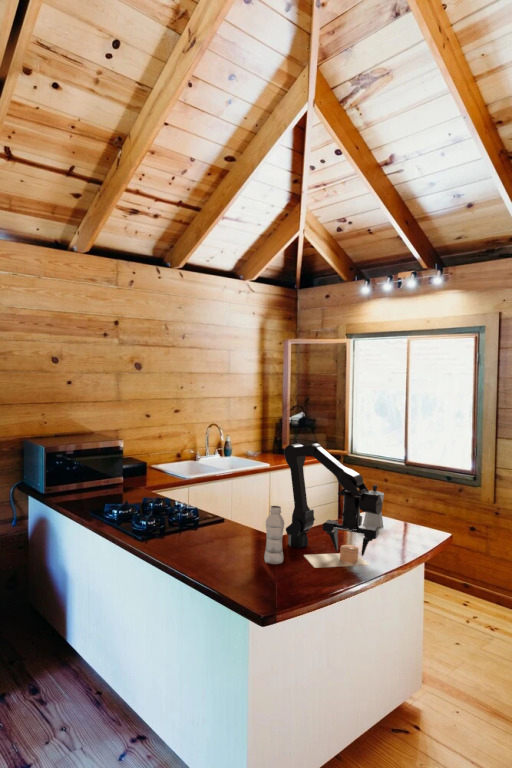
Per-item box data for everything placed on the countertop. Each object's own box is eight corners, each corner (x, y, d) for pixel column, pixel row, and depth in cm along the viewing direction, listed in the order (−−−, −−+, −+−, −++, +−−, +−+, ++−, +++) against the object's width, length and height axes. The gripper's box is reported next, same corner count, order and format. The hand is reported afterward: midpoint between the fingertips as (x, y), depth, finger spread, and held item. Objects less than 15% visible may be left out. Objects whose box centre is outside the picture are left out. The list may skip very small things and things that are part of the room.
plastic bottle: (277, 570, 168) (279, 510, 167) (260, 565, 171) (262, 507, 171) (286, 564, 173) (288, 506, 173) (269, 559, 177) (272, 503, 176)
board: (314, 572, 167) (315, 558, 167) (303, 559, 179) (303, 545, 179) (369, 569, 172) (370, 555, 172) (355, 556, 183) (355, 543, 183)
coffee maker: (369, 520, 231) (371, 481, 231) (387, 524, 226) (389, 484, 226) (355, 527, 219) (357, 486, 219) (375, 531, 214) (376, 490, 214)
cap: (357, 563, 172) (357, 551, 172) (338, 560, 174) (339, 549, 174) (358, 557, 178) (359, 546, 178) (341, 554, 180) (341, 543, 180)
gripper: (382, 507, 179) (380, 551, 180) (331, 500, 187) (330, 542, 187) (376, 515, 169) (374, 561, 170) (323, 507, 177) (321, 551, 177)
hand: (349, 553), depth 176 cm, fingers open, 9 cm apart
